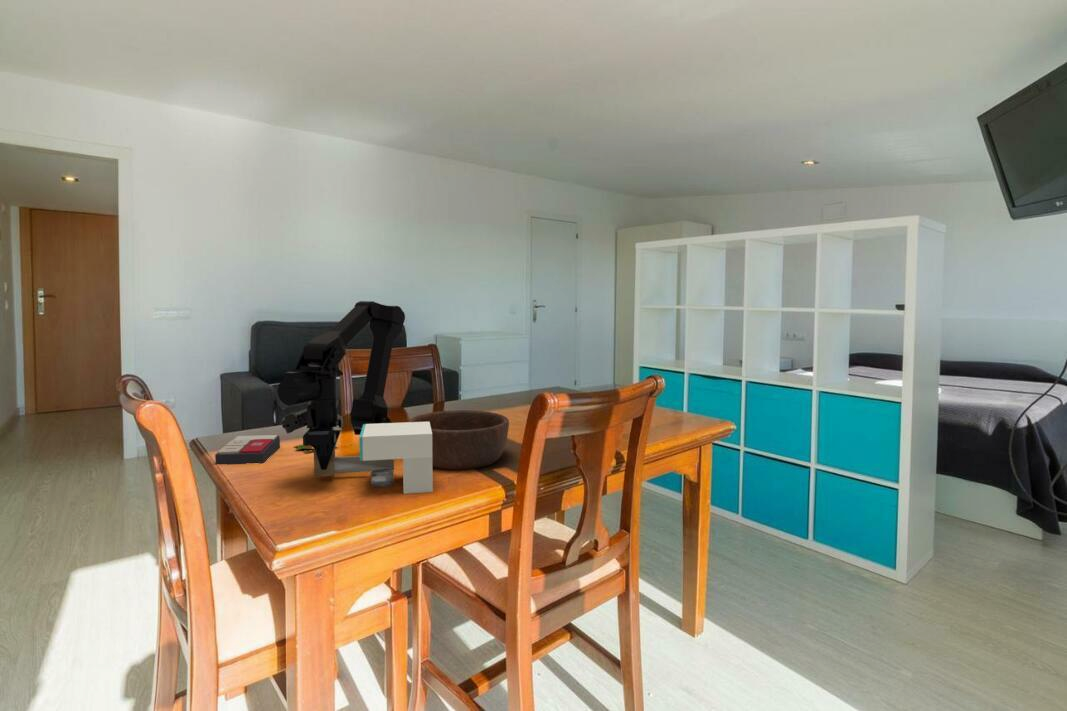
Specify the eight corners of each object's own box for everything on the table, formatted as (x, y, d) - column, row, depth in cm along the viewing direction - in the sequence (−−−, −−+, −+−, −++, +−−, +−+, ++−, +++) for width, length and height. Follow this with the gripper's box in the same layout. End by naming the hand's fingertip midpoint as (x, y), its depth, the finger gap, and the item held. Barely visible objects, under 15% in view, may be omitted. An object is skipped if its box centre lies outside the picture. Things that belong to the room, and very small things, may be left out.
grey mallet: (316, 471, 132) (316, 441, 131) (394, 467, 135) (393, 437, 135) (314, 476, 128) (313, 445, 127) (393, 472, 132) (393, 442, 131)
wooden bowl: (521, 450, 156) (521, 413, 155) (489, 478, 132) (489, 434, 131) (435, 443, 163) (435, 407, 162) (390, 468, 139) (389, 426, 138)
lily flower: (328, 441, 165) (328, 425, 165) (346, 450, 156) (346, 433, 156) (285, 448, 157) (284, 432, 157) (301, 458, 148) (301, 440, 148)
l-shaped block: (364, 478, 131) (363, 423, 130) (429, 474, 134) (429, 421, 133) (360, 496, 119) (359, 436, 118) (432, 492, 122) (432, 433, 121)
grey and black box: (214, 451, 140) (236, 433, 154) (215, 468, 140) (237, 449, 155) (262, 450, 141) (279, 432, 156) (263, 467, 142) (280, 448, 157)
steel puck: (371, 481, 129) (371, 469, 129) (393, 480, 130) (393, 468, 130) (370, 488, 125) (370, 475, 124) (393, 487, 126) (393, 474, 125)
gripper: (292, 391, 136) (294, 457, 137) (275, 406, 118) (277, 481, 119) (342, 390, 138) (343, 454, 140) (333, 405, 120) (334, 478, 122)
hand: (325, 466), depth 130 cm, fingers closed on grey mallet, 4 cm apart
